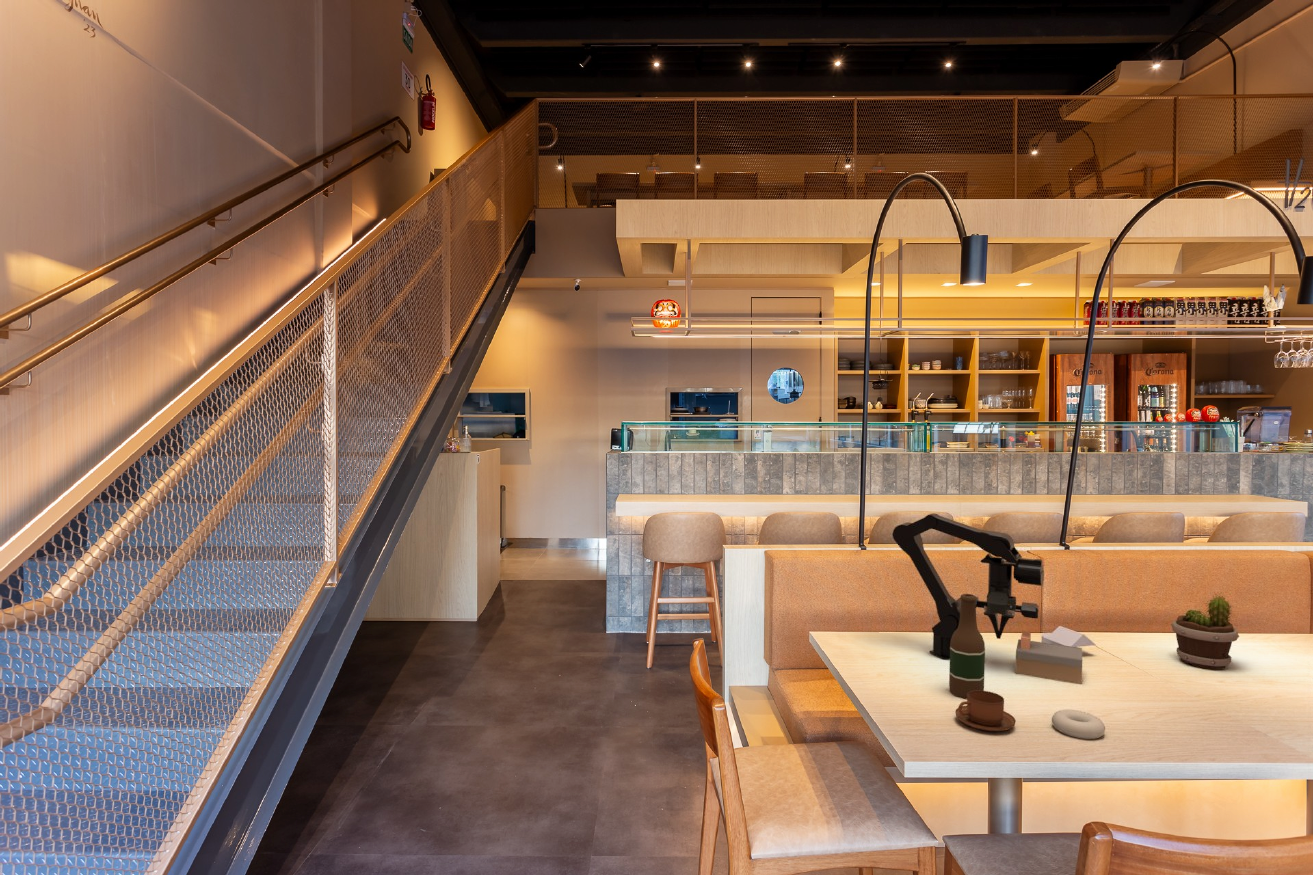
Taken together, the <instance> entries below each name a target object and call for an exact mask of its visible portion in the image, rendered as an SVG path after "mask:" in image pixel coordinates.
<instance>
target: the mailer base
mask: <svg viewBox="0 0 1313 875" xmlns="http://www.w3.org/2000/svg"><path fill="white" fill-rule="evenodd" d="M1015 674H1016V675H1023V676H1029V677H1035V678H1042V679H1046V680H1047V679H1048V680H1055V681H1061V682H1068V683H1074V684H1078V685H1082V682H1083V680H1082V679H1083V666H1082V667H1075V666H1068V665H1062V664H1055V663H1048V662H1041V661H1035V660H1028V659H1021V658H1016V657H1015Z"/></svg>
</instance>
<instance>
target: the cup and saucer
mask: <svg viewBox="0 0 1313 875" xmlns="http://www.w3.org/2000/svg"><path fill="white" fill-rule="evenodd" d="M955 715H956V718H957V719H958V720H959V721H960V722H962V723H963V724H965V725H967V726H969V727H972V728H974V729H978V730H982V731H987V732H1003V731H1007V730H1010V729H1012V728H1013V727H1015V725H1016V718H1015V717H1014V716H1013V715H1012V714H1011V713H1009V712H1007V711H1005V698H1004V697H1003V696H1002V695H1000V694H998V693H995V692H993V691H987V690H984V691H980V690H976V691H970V692H968V694H967V699H966V701H962V702H960V704H958V708H956V709H955Z"/></svg>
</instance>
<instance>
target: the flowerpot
mask: <svg viewBox="0 0 1313 875" xmlns="http://www.w3.org/2000/svg"><path fill="white" fill-rule="evenodd" d="M1222 592H1223V591H1222ZM1222 592H1221V593H1220V594H1219V595H1217V594H1214V595H1215V596H1214V595H1212V598H1208V599H1207V603H1206V604H1205V605H1206V606H1205V607H1206V608H1207V609H1206V610H1204V611H1206V612H1205V613H1204V611H1202V610H1201V609H1198V608H1197V607H1195V608H1192V607H1189V609H1187V610H1186V612H1185V615H1178V617H1177V618H1176V619H1175V620H1173V621H1172V623H1171V624H1170V625H1171V629H1172V631H1173V632H1174V633H1175V637H1176V642H1177V646H1178V647H1177V648H1176V650H1175V652H1176V654H1177V656H1178V657H1179V658H1180V660H1181V662H1182V663H1184V664H1191V665H1192V666H1193V667H1196V668H1199V667H1200V668H1201V669H1206V670H1223V669H1225V668H1226V666H1229V665H1230V664H1231V663H1233V662H1232V661H1233V660H1232V656H1231V655H1230V651H1231V647H1232V643H1233V642H1236V641H1237V640H1238V639H1239V638H1240V635H1239V632H1238V630H1237V629H1236V628H1234V625H1233V623H1231V618H1232V617H1233V612H1234V611H1233V606H1232V605H1231V603H1230V600H1226V596H1227V595H1225V594H1222ZM1221 594H1222V595H1221Z"/></svg>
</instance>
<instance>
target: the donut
mask: <svg viewBox="0 0 1313 875" xmlns="http://www.w3.org/2000/svg"><path fill="white" fill-rule="evenodd" d="M1051 723H1052V724H1053V727H1054V728H1055V729H1056V730H1058V731H1059V732H1060V733H1062V734H1064V735H1067V736H1069V737H1072V738H1073V737H1074V738H1076V739H1082V740H1083V739H1085V740H1094V739H1095V740H1096V739H1099V738H1101V737H1102V736H1104V734H1105V731H1106V725H1105V724H1104V722H1103V720H1102V719H1101V718H1099V717H1098V716H1096V715H1094V714H1091V713H1089V712H1086V711H1082V710H1078V709H1077V710H1076V709H1061V710H1058V711H1055V712H1054V713H1053V715H1052V716H1051Z"/></svg>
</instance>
